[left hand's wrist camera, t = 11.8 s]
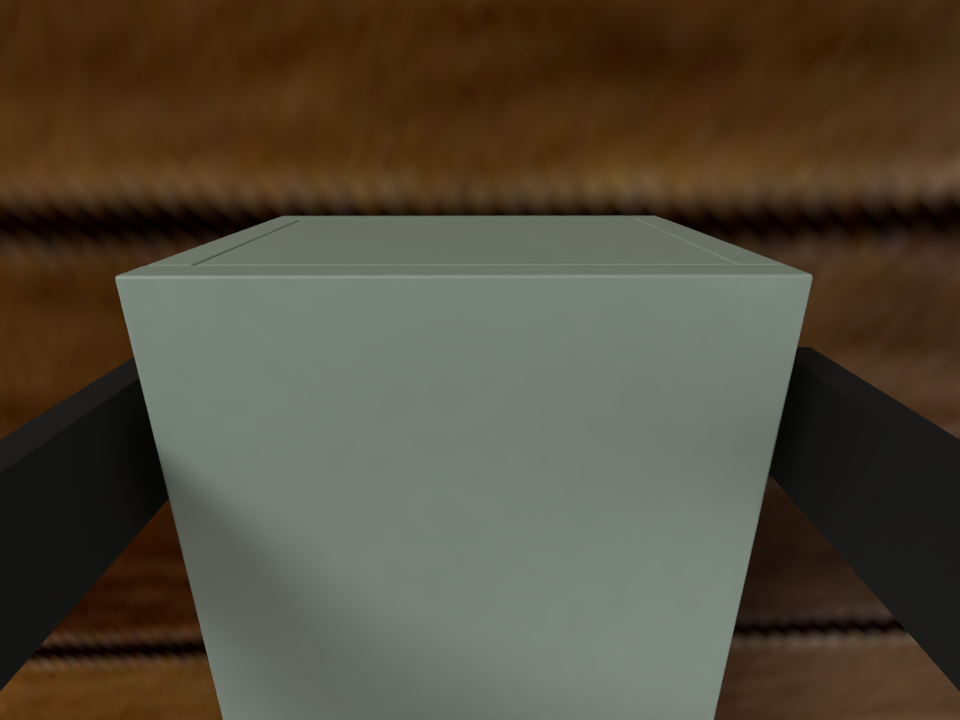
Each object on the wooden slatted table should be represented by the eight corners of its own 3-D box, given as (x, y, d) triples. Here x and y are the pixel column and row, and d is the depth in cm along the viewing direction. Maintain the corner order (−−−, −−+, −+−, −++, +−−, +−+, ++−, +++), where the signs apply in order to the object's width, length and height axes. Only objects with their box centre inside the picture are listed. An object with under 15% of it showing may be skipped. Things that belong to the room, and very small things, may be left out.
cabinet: (605, 660, 22) (671, 913, 15) (338, 662, 22) (270, 919, 15) (657, 215, 16) (815, 274, 9) (280, 215, 16) (112, 275, 8)
